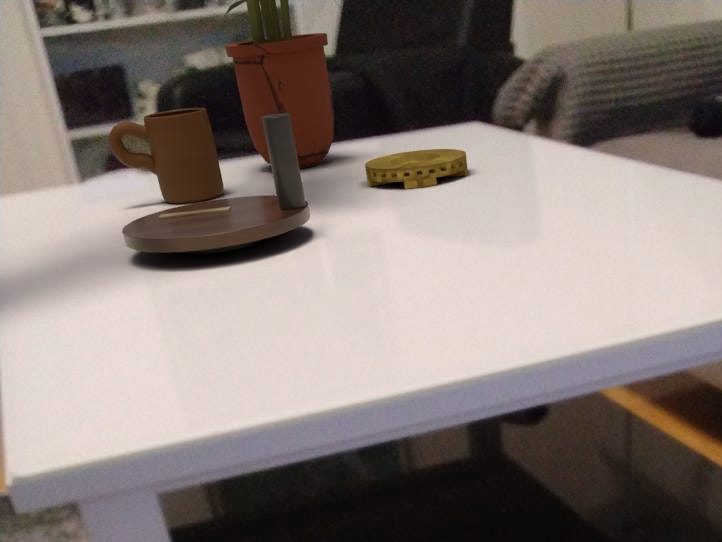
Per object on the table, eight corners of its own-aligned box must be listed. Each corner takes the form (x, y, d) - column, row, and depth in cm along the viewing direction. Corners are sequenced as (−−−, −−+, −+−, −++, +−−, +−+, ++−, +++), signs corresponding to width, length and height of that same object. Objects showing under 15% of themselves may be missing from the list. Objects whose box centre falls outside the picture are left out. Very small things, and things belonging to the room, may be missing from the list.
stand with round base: (107, 249, 103) (74, 134, 98) (269, 214, 111) (248, 105, 105) (164, 279, 90) (130, 148, 85) (344, 236, 98) (324, 113, 92)
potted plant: (262, 161, 145) (201, -148, 126) (369, 150, 144) (325, -163, 124) (232, 185, 131) (158, -160, 111) (351, 173, 129) (298, -178, 110)
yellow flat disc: (415, 166, 129) (413, 147, 127) (488, 170, 122) (486, 150, 121) (347, 186, 121) (344, 167, 120) (420, 191, 115) (417, 170, 113)
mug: (127, 213, 121) (103, 125, 116) (126, 203, 127) (103, 119, 122) (228, 197, 123) (209, 110, 118) (222, 188, 129) (204, 105, 124)
